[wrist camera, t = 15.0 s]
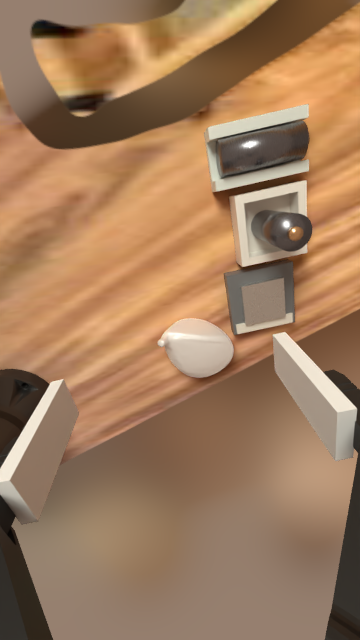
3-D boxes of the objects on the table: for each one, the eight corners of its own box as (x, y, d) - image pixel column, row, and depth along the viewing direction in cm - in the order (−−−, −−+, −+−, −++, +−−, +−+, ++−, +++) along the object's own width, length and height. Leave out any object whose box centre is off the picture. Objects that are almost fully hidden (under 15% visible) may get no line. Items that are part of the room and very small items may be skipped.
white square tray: (236, 262, 46) (242, 266, 42) (228, 196, 41) (234, 196, 38) (296, 248, 45) (307, 252, 42) (295, 181, 41) (306, 180, 38)
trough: (212, 192, 41) (216, 191, 38) (203, 132, 38) (207, 127, 35) (297, 172, 41) (308, 170, 38) (296, 111, 38) (308, 103, 35)
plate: (244, 322, 48) (245, 325, 47) (239, 285, 45) (241, 287, 44) (283, 314, 48) (285, 316, 47) (281, 276, 45) (283, 277, 44)
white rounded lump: (174, 319, 40) (230, 379, 40) (201, 298, 49) (247, 347, 49) (138, 355, 46) (186, 408, 46) (168, 331, 55) (208, 375, 54)
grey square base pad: (231, 330, 51) (234, 335, 49) (223, 273, 46) (226, 276, 44) (289, 317, 50) (295, 322, 48) (287, 259, 46) (293, 262, 44)
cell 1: (218, 178, 39) (225, 176, 35) (213, 143, 38) (220, 136, 34) (299, 160, 39) (314, 155, 35) (298, 124, 37) (315, 115, 33)
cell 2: (251, 241, 44) (277, 255, 33) (250, 212, 42) (277, 217, 31) (278, 237, 44) (314, 249, 33) (278, 207, 42) (316, 211, 31)
